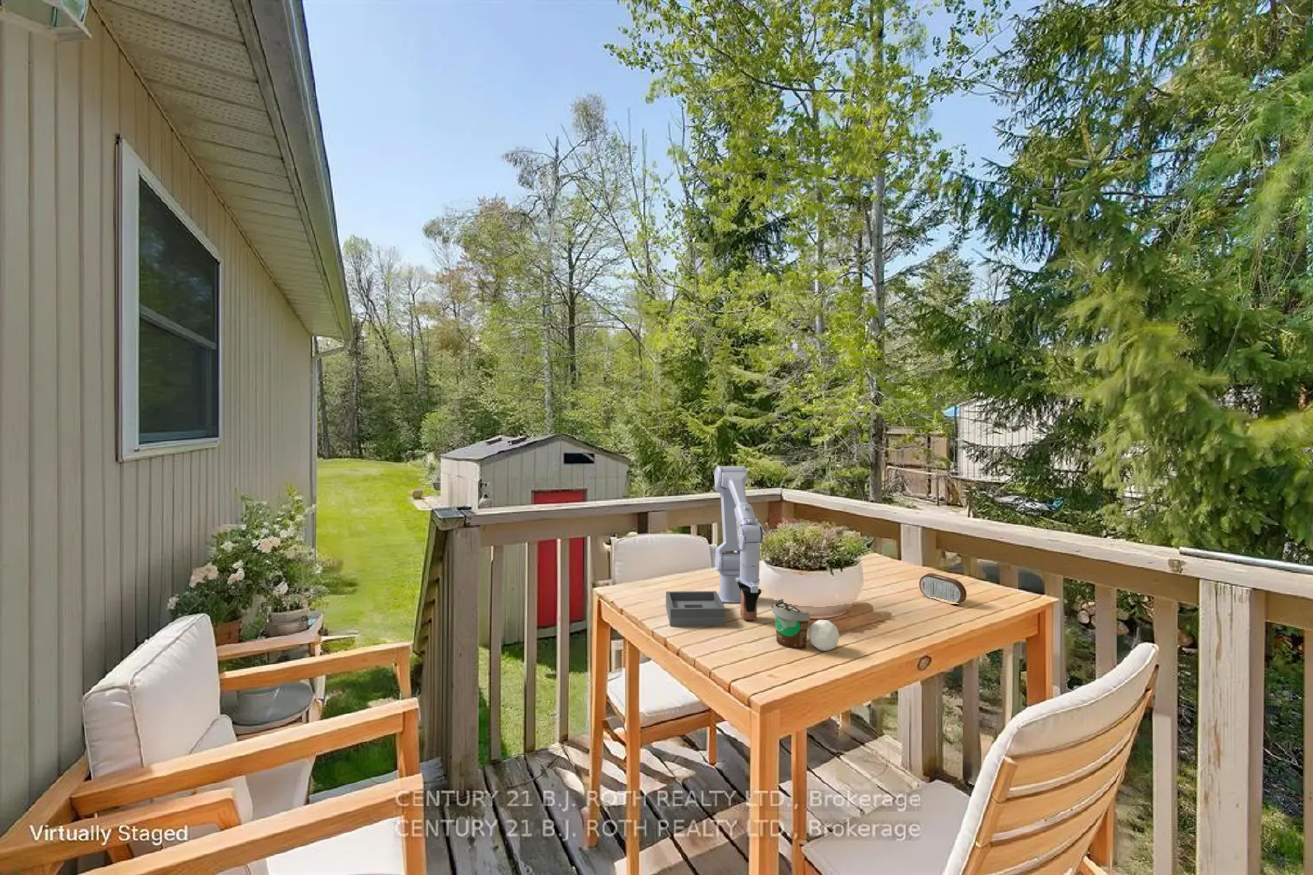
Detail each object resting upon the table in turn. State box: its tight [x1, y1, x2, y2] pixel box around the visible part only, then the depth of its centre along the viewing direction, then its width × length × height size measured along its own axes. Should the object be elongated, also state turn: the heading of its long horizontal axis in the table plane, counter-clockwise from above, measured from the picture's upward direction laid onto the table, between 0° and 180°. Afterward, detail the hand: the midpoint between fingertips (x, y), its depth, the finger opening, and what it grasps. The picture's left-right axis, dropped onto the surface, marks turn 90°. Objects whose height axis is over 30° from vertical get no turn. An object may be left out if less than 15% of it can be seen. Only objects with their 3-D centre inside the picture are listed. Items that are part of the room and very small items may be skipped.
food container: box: [772, 598, 811, 650], centre depth 154 cm, size 12×6×10 cm, turn 23°
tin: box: [918, 572, 968, 604], centre depth 190 cm, size 15×3×8 cm, turn 34°
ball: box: [807, 619, 840, 652], centre depth 151 cm, size 8×8×8 cm
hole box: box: [665, 590, 726, 627], centre depth 174 cm, size 16×16×5 cm
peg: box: [739, 589, 758, 620], centre depth 171 cm, size 4×4×8 cm
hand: (748, 608), depth 172 cm, fingers closed on peg, 4 cm apart
